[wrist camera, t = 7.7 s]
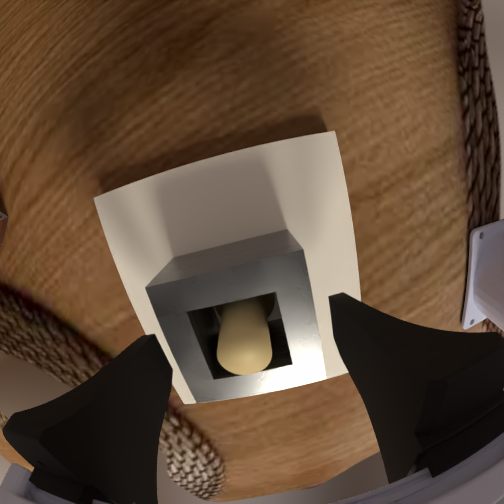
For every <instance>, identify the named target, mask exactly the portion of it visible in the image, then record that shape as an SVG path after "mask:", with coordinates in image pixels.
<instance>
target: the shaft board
mask: <svg viewBox="0 0 504 504" xmlns="http://www.w3.org/2000/svg"><path fill="white" fill-rule="evenodd" d="M94 201H95V204H96V208H97V211H98V214H99V218H100V221H101V224H102V227H103V230H104V233H105V236H106V239H107V242H108V245H109V248H110V250H111V253H112V256H113V258H114V261H115V264H116V266H117V269H118V272H119V274H120V277H121V279H122V282H123V284H124V286H125V289H126V291H127V294H128V296H129V298H130V301H131V303H132V305H133V307H134V310H135V312H136V314H137V316H138V318H139V321H140V323H141V325H142V327H143V329H144V331H145V333H146V335H149V334H155V335H156V337H157V339H158V341H159V343H160V345H161V347H162V349H163V351H164V353H165V355H166V357H167V359H168V361H169V363H170V365H171V366H172V368H173V377H172V384H173V386H174V387H175V389H176V391H177V393H178V394H179V396H180V398H181V399H182V401H183V402H184V404H192V403H196V401H195V399H194V397H193V395H192V393H191V392H190V390H189V388H188V386H187V384H186V382H185V380H184V378H183V376H182V374H181V371H180V369H179V367H178V365H177V363H176V361H175V359H174V357H173V354H172V352H171V350H170V348H169V346H168V343H167V341H166V339H165V337H164V334H163V332H162V330H161V327H160V325H159V322H158V320H157V318H156V315H155V313H154V310H153V308H152V305H151V303H150V300H149V297H148V295H147V292H146V289H145V287H146V286H147V285H148V284H149V283H150V281H151V280H152V279H153V278H154V277H155V276H156V275H157V274H158V273H159V272H160V271H161V270H162V269H163V268H164V267H165V266H166V265H167V264H168V263H169V261H170V260H171V259H172V258H174V257H178V256H182V255H185V254H189V253H193V252H197V251H201V250H205V249H209V248H213V247H217V246H221V245H225V244H229V243H233V242H237V241H241V240H245V239H249V238H253V237H257V236H261V235H265V234H269V233H273V232H277V231H281V230H285V229H288V230H289V231H290V233H291V234H292V235H293V236H294V238H295V239H296V240H297V241H298V243H299V244H300V245H301V247H302V248H303V249H304V254H305V258H306V263H307V268H308V273H309V279H310V284H311V289H312V294H313V300H314V305H315V311H316V317H317V323H318V329H319V335H320V341H321V347H322V353H323V360H324V367H325V374H326V379H328V378H331V377H335V376H338V375H342V374H345V373H348V370H347V368H346V366H345V365H344V363H343V361H342V359H341V357H340V354H339V351H338V349H337V346H336V343H335V341H334V338H333V330H332V322H331V313H330V306H329V298H328V296H331V295H334V294H338V293H342V292H344V293H346V294H348V295H350V296H351V297H353V298H355V299H357V300H359V301H361V296H360V283H359V273H358V263H357V254H356V246H355V238H354V230H353V223H352V217H351V210H350V204H349V198H348V192H347V187H346V181H345V176H344V171H343V166H342V161H341V157H340V152H339V147H338V143H337V139H336V135H335V131H331V132H325V133H318V134H313V135H307V136H301V137H296V138H291V139H286V140H281V141H276V142H272V143H267V144H263V145H258V146H254V147H250V148H245V149H241V150H237V151H233V152H230V153H226V154H222V155H218V156H215V157H211V158H207V159H204V160H200V161H197V162H194V163H190V164H187V165H184V166H180V167H177V168H174V169H171V170H168V171H165V172H162V173H159V174H156V175H153V176H150V177H147V178H144V179H142V180H139V181H136V182H133V183H130V184H128V185H125V186H122V187H120V188H117V189H115V190H112V191H110V192H107V193H105V194H102V195H100V196H97V197H95V198H94ZM214 309H215V312H216V315H217V318H218V321H219V324H220V333H219V340H218V348H217V358H218V361H219V363H220V364H221V366H222V367H223V368H225V369H226V370H228V371H229V372H232V373H234V374H239V375H250V374H255V373H258V372H260V371H262V370H263V369H264V368H266V367H267V366H268V364H269V363H270V361H271V358H272V349H271V341H270V334H269V327H268V321H272V320H276V319H280V318H282V315H281V311H280V307H279V303H278V299H277V294H276V292H272V293H268V294H264V295H259V296H255V297H251V298H247V299H242V300H238V301H233V302H229V303H224V304H220V305H215V306H214ZM322 380H324V379H322ZM319 381H320V380H319ZM315 382H316V381H315ZM311 383H313V382H311ZM307 384H309V383H307ZM303 385H305V384H303ZM299 386H301V385H299ZM295 387H296V386H295ZM290 388H292V387H290ZM286 389H288V388H286ZM281 390H283V389H281ZM277 391H278V390H277ZM272 392H273V391H272ZM267 393H268V392H267ZM262 394H263V393H262ZM256 395H258V394H256ZM250 396H252V395H250ZM245 397H246V396H245ZM238 398H240V397H238ZM232 399H233V398H232ZM225 400H226V399H225ZM218 401H219V400H218ZM210 402H211V401H210ZM201 403H202V402H201Z"/></svg>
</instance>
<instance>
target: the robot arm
mask: <svg viewBox="0 0 504 504" xmlns="http://www.w3.org/2000/svg"><path fill="white" fill-rule="evenodd" d="M328 298H329V306H330V313H331V322H332V330H333V338H334V341H335V343H336V346H337V349H338V351H339V354H340V357H341V359H342V361H343V363H344V365H345V366H346V368H347V370H348V372H349V374H350V376H351V378H352V380H353V382H354V384H355V385H356V387H357V389H358V391H359V393H360V395H361V397H362V399H363V402H364V404H365V406H366V409H367V412H368V415H369V417H370V420H371V423H372V426H373V429H374V432H375V435H376V438H377V441H378V445H379V448H380V452H381V455H382V459H383V462H384V466H385V470H386V474H387V478H388V482H389V485H386V486H383V487H381V488H378V489H375V490H372V491H369V492H367V493H363V494H360V495H357V496H354V497H350V498H347V499H343V500H340V501H336V502H332V503H328V504H495V503H496V502H498V501H499V500H500V499H501V498H503V497H504V391H503V388H504V338H503V337H502V336H501V335H500V334H499V333H498V332H481V333H467V332H453V331H445V330H439V329H434V328H428V327H424V326H420V325H416V324H413V323H410V322H406V321H403V320H400V319H397V318H395V317H393V316H390V315H388V314H385V313H383V312H381V311H379V310H376V309H374V308H372V307H370V306H368V305H366V304H364V303H363V302H361V301H359V300H357V299H355V298H353V297H351V296H350V295H348V294H346V293H344V292H342V293H338V294H334V295H331V296H328ZM486 318H489V319H490V320H491V321H492V322H493V323H495V324H496V325H497V326H498V327H499V328H501V329H502V330H503V331H504V219H502V220H499V221H496V222H493V223H490V224H487V225H484V226H481V227H478V228H475V229H473V230H472V232H471V234H470V247H469V266H468V278H467V288H466V296H465V304H464V311H463V317H462V323H461V327H462V328H463V329H468V328H469V327H471V326H473V325H475V324H477V323H479V322H480V321H482V320H484V319H486ZM172 377H173V368H172V366H171V365H170V363H169V361H168V359H167V357H166V355H165V353H164V351H163V349H162V347H161V345H160V343H159V341H158V339H157V337H156V335H155V334H149V335H143V336H141V337H140V338H138V339H137V340H136V341H134V342H133V343H132V344H131V345H129V346H128V347H127V348H126V349H125V350H124V351H122V352H121V353H120V354H119V355H118V356H117V357H116V358H114V359H113V360H112V361H111V362H110V363H109V364H107V365H106V366H105V367H104V368H102V369H101V370H100V371H99V372H97V373H96V374H95V375H94V376H92V377H91V378H90V379H88V380H87V381H85V382H84V383H82V384H81V385H79V386H78V387H76V388H74V389H73V390H71V391H69V392H67V393H66V394H64V395H62V396H60V397H58V398H56V399H54V400H52V401H49V402H47V403H45V404H42V405H40V406H37V407H34V408H31V409H28V410H24V411H20V412H16V413H14V414H13V415H12V416H11V417H10V419H9V420H8V422H7V423H6V425H5V426H4V428H3V429H2V431H3V435H4V437H5V438H6V440H7V441H8V442H9V444H10V445H11V446H12V447H13V448H14V449H15V450H16V451H17V452H18V453H19V454H20V455H21V456H22V457H23V458H24V459H25V460H27V461H28V462H29V463H30V464H31V465H32V466H33V467H35V468H34V470H33V472H31V471H30V470H28V469H26V468H25V467H22V466H20V465H18V464H16V463H14V462H12V464H11V466H10V468H9V470H8V472H7V473H6V475H5V477H4V480H3V482H2V484H1V486H0V504H158V500H157V455H158V445H159V437H160V431H161V427H162V423H163V419H164V415H165V412H166V408H167V404H168V400H169V396H170V392H171V386H172Z"/></svg>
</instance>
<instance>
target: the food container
mask: <svg viewBox="0 0 504 504" xmlns="http://www.w3.org/2000/svg"><path fill="white" fill-rule="evenodd" d="M7 222H8V216H6V215H5V214H3V213H2V212H0V246H1V244H2V242H3V239H4V236H5V232H6V228H7Z"/></svg>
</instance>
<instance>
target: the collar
mask: <svg viewBox="0 0 504 504" xmlns="http://www.w3.org/2000/svg"><path fill="white" fill-rule="evenodd" d="M145 289H146V292H147V295H148V297H149V300H150V303H151V305H152V308H153V310H154V313H155V315H156V318H157V320H158V322H159V325H160V327H161V330H162V332H163V334H164V337H165V339H166V341H167V343H168V346H169V348H170V350H171V352H172V354H173V357H174V359H175V361H176V363H177V365H178V367H179V369H180V371H181V374H182V376H183V378H184V380H185V382H186V384H187V386H188V388H189V390H190V392H191V393H192V395H193V397H194V399H195V401H196V403H201V402H210V401H218V400H225V399H232V398H238V397H245V396H250V395H256V394H262V393H267V392H272V391H277V390H281V389H286V388H290V387H295V386H299V385H303V384H307V383H311V382H315V381H319V380H322V379H326V374H325V367H324V360H323V353H322V347H321V341H320V335H319V329H318V323H317V317H316V311H315V305H314V300H313V294H312V289H311V284H310V279H309V273H308V268H307V263H306V258H305V254H304V249H303V248H302V247H301V245H300V244H299V243H298V241H297V240H296V239H295V238H294V236H293V235H292V234H291V233H290V231H289V230H288V229H285V230H281V231H277V232H273V233H269V234H265V235H261V236H257V237H253V238H249V239H245V240H241V241H237V242H233V243H229V244H225V245H221V246H217V247H213V248H209V249H205V250H201V251H197V252H193V253H189V254H185V255H182V256H178V257H174V258H172V259H171V260H170V261H169V263H168V264H167V265H166V266H165V267H164V268H163V269H162V270H161V271H160V272H159V273H158V274H157V275H156V276H155V277H154V278H153V279H152V280H151V281H150V283H149V284H148V285H147V286H146V287H145ZM272 292H276V294H277V299H278V303H279V307H280V311H281V315H282V318H280V319H276V320H272V321H268V327H269V334H270V341H271V349H272V358H271V361H270V363H269V364H268V366H267V367H266V368H264V369H263V370H262V371H260V372H258V373H255V374H250V375H239V374H234V373H232V372H229V371H228V370H226V369H225V368H223V367H222V366H221V364H220V363H219V361H218V358H217V348H218V340H219V333H220V324H219V321H218V318H217V315H216V312H215V309H214V306H215V305H220V304H224V303H229V302H233V301H238V300H242V299H247V298H251V297H255V296H259V295H264V294H268V293H272Z"/></svg>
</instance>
